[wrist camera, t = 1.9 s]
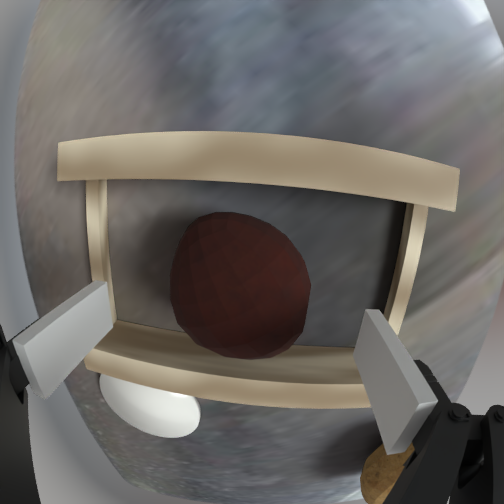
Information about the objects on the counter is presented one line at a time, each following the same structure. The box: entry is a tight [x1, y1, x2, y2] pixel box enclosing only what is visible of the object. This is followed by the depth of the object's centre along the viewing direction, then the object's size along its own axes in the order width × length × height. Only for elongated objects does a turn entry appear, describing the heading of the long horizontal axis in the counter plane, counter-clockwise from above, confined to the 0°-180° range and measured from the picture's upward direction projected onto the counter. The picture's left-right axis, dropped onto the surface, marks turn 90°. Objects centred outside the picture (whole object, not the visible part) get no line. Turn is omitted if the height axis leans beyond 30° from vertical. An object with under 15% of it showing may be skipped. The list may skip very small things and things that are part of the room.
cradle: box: [57, 131, 460, 409], centre depth 17 cm, size 17×24×4 cm
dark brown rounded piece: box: [170, 212, 311, 360], centre depth 16 cm, size 8×9×8 cm
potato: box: [360, 443, 415, 504], centre depth 21 cm, size 10×14×8 cm
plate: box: [100, 374, 201, 438], centre depth 24 cm, size 11×11×1 cm
